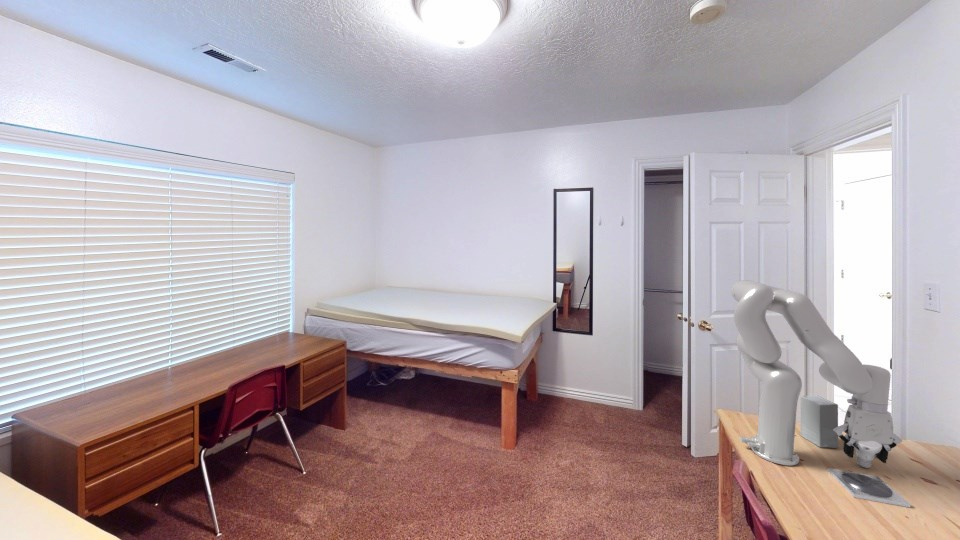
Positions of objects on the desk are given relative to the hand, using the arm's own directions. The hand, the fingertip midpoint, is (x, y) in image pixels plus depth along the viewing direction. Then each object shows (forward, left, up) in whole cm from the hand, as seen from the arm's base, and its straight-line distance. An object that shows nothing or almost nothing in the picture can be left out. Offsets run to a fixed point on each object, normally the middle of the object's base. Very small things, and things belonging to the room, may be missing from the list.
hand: (864, 457), depth 112 cm
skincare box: (-6, +13, -4) cm, 15 cm away
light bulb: (0, 0, -4) cm, 4 cm away
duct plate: (-6, -12, -3) cm, 14 cm away
